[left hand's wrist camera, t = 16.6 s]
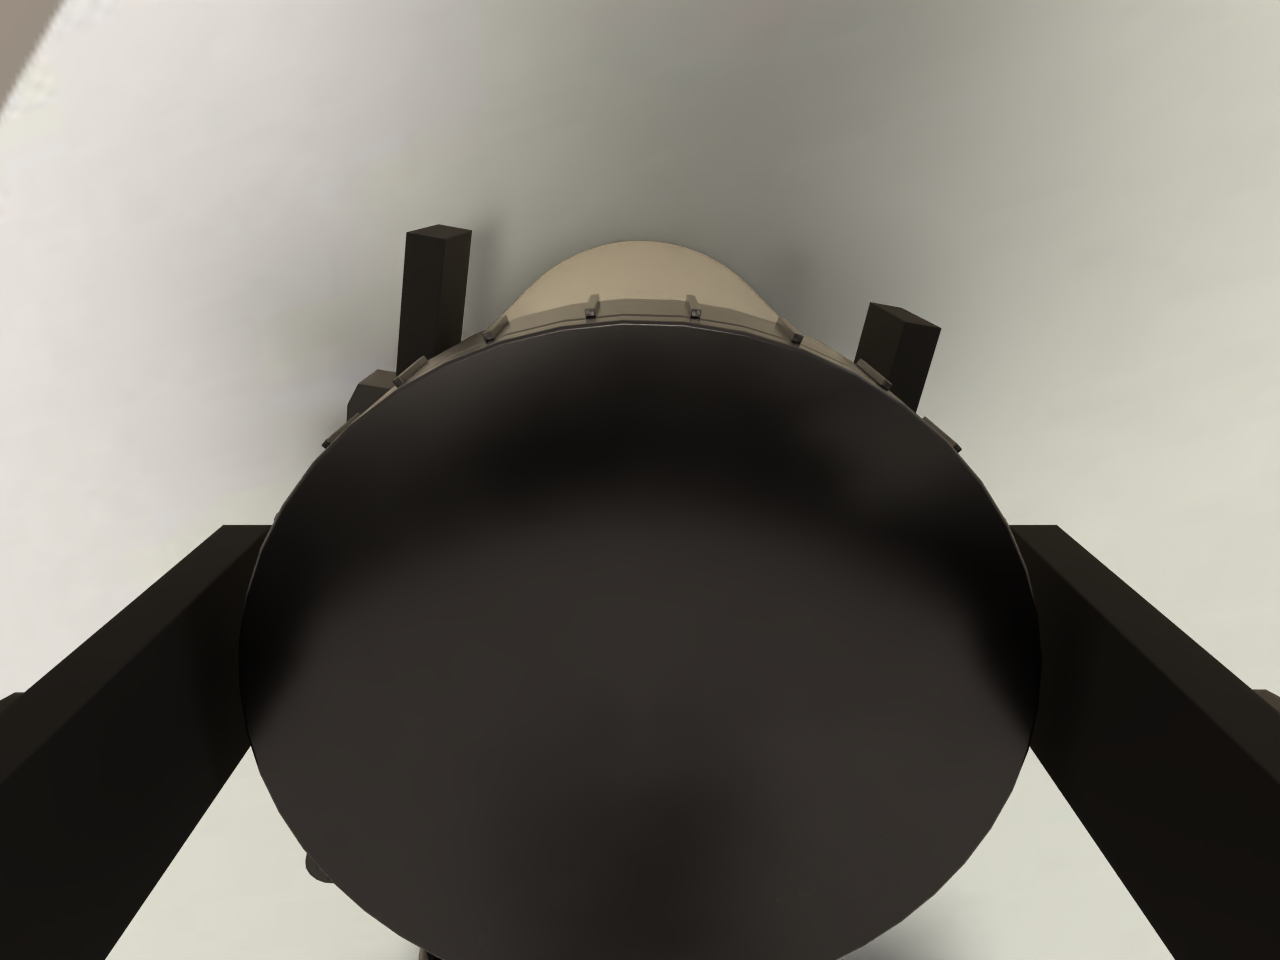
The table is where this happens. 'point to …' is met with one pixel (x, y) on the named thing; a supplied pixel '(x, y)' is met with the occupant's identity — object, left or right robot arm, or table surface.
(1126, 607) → the left robot arm
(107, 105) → the table surface
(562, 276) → the jar
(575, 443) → the lid
